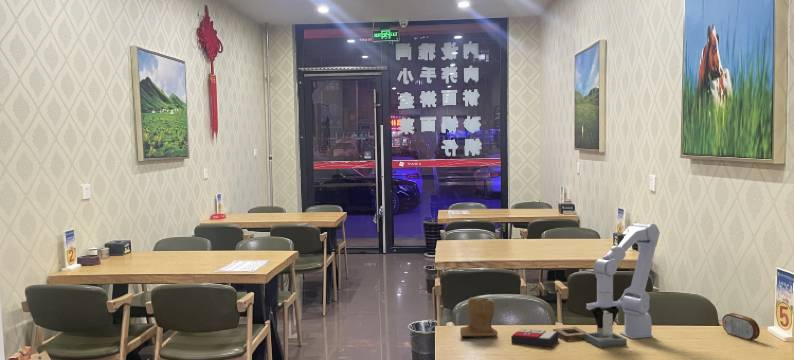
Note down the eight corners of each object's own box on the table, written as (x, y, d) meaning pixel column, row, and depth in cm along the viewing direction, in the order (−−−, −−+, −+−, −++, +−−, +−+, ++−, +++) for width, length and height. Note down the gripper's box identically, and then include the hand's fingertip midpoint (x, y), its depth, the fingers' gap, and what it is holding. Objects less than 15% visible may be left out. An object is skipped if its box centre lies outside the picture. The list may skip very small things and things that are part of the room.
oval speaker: (760, 342, 235) (760, 319, 234) (754, 343, 234) (754, 320, 233) (726, 331, 249) (726, 310, 249) (720, 332, 248) (720, 311, 248)
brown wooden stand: (493, 330, 255) (493, 293, 254) (499, 339, 243) (499, 300, 242) (456, 331, 254) (456, 294, 254) (460, 340, 243) (460, 301, 242)
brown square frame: (575, 331, 251) (575, 326, 251) (589, 338, 242) (589, 333, 241) (553, 333, 249) (553, 328, 249) (565, 341, 239) (565, 335, 239)
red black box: (519, 327, 247) (558, 330, 240) (520, 338, 247) (558, 341, 240) (510, 334, 238) (550, 337, 230) (511, 345, 238) (550, 349, 230)
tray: (609, 337, 243) (609, 331, 243) (626, 345, 232) (626, 338, 232) (584, 339, 240) (584, 333, 240) (600, 348, 230) (600, 341, 230)
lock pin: (606, 334, 239) (606, 310, 238) (612, 337, 235) (612, 313, 235) (597, 335, 238) (597, 311, 238) (603, 338, 234) (603, 314, 234)
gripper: (616, 287, 241) (616, 322, 242) (581, 290, 238) (582, 325, 238) (626, 291, 234) (626, 327, 235) (592, 294, 231) (592, 330, 232)
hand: (605, 327), depth 236 cm, fingers closed on lock pin, 4 cm apart
